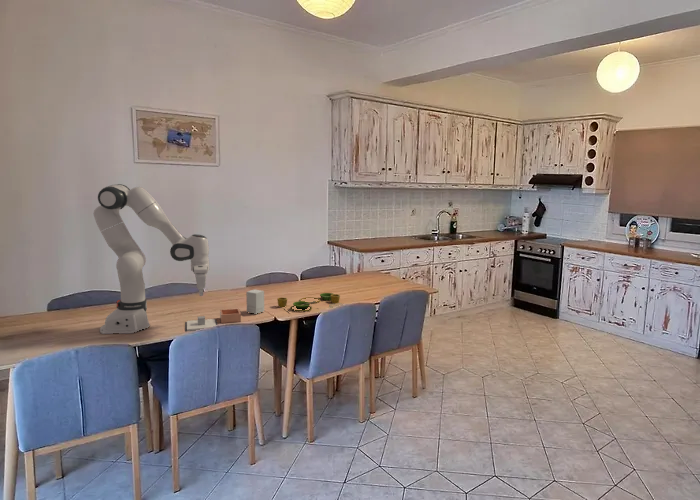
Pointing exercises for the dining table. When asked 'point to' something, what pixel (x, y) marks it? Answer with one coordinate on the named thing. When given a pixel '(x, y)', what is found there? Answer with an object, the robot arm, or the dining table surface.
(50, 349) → the dining table surface
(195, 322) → the lid
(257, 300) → the supplement box
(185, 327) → the mat
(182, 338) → the dining table surface
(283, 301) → the tableware set
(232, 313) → the brown open box
